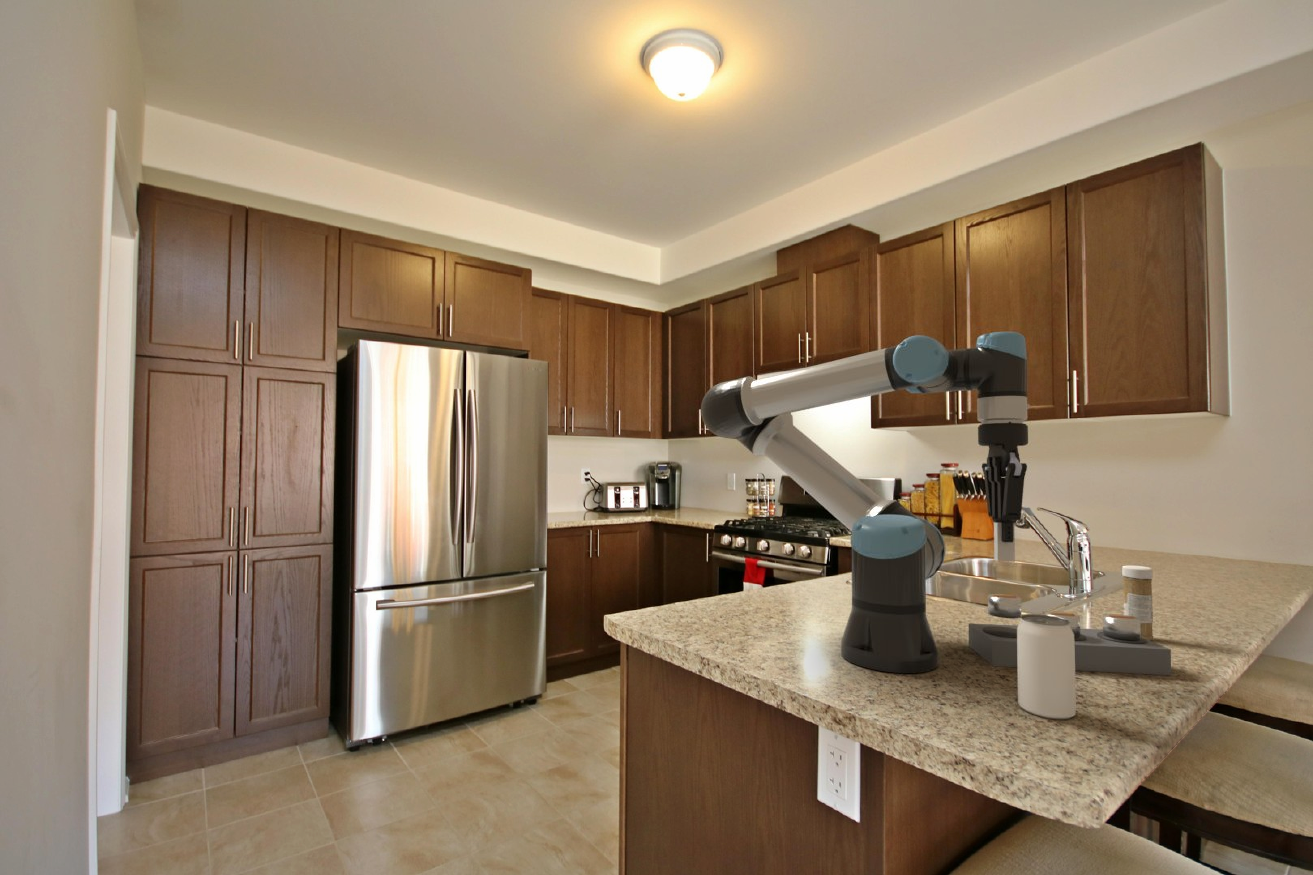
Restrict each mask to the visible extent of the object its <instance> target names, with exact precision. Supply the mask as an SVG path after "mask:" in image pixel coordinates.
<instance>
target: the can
mask: <svg viewBox="0 0 1313 875" xmlns="http://www.w3.org/2000/svg"><path fill="white" fill-rule="evenodd" d="M1069 624H1070V621H1068V620H1066V619H1063V618H1060V617H1055V616H1049V615H1045V614H1037V613H1026V614H1022V615H1021V618H1020V621H1019V623H1018V625H1017V626H1018V627H1017V666H1018V667H1017V702H1018V706H1020V708H1021V709H1022V710H1024V711H1025V712H1026V713H1028V714H1030V715H1033V716H1036V717H1040V718H1045V719H1050V720H1058V721H1059V720H1060V721H1061V720H1062V721H1063V720H1070V719H1072V718H1073V717H1074V716H1075V715H1076V714H1077V712H1076V711H1077V710H1076V709H1077V708H1076V707H1077V706H1076V702H1077V701H1076V699H1077V698H1076V670H1075V644H1074V633H1073V631H1072V630H1071V628H1070V625H1069Z"/></svg>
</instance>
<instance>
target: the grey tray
mask: <svg viewBox="0 0 1313 875" xmlns="http://www.w3.org/2000/svg"><path fill="white" fill-rule="evenodd" d="M1017 627H1018V625H1014V624H1011V625H1009V624H994V623H993V624H992V623H988V624H987V623H970V622H969V623H968V647H969V648H971V649H972V650H973V651H974V652H975V653H977V654H978V655H979V656H980V657H981V658H983V659H984V660H986V662H988V664H990V665H991V666H993V667H995V666H996V667H1011V668H1018V666H1017ZM1074 644H1075V671H1083V672H1100V673H1101V672H1102V673H1119V674H1135V675H1136V674H1138V675H1139V674H1141V675H1154V676H1155V675H1156V676H1157V675H1158V676H1172V652H1171V650H1172V649H1170V648H1168V647H1166V646H1164V645H1162V644H1160V643H1157V642H1155V641H1153V640H1148V639H1146V638H1144V637H1141V639H1140V640H1124V639H1118V638H1113V637H1109V636H1106V635H1104V634H1103V628H1102V629H1101V628H1100V629H1097V628H1081V627H1080V636H1079V637H1074Z"/></svg>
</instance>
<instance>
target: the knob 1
mask: <svg viewBox="0 0 1313 875" xmlns="http://www.w3.org/2000/svg"><path fill="white" fill-rule="evenodd" d="M1022 611H1023V610H1022V598H1021V597H1020V596H1017V595H1015V594H1013V595H1011V594H1003V593H989V594H987V613H988V615H990V616H991V617H996V618H1002V619H1016V620H1017V619H1021V615H1023V613H1022Z"/></svg>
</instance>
